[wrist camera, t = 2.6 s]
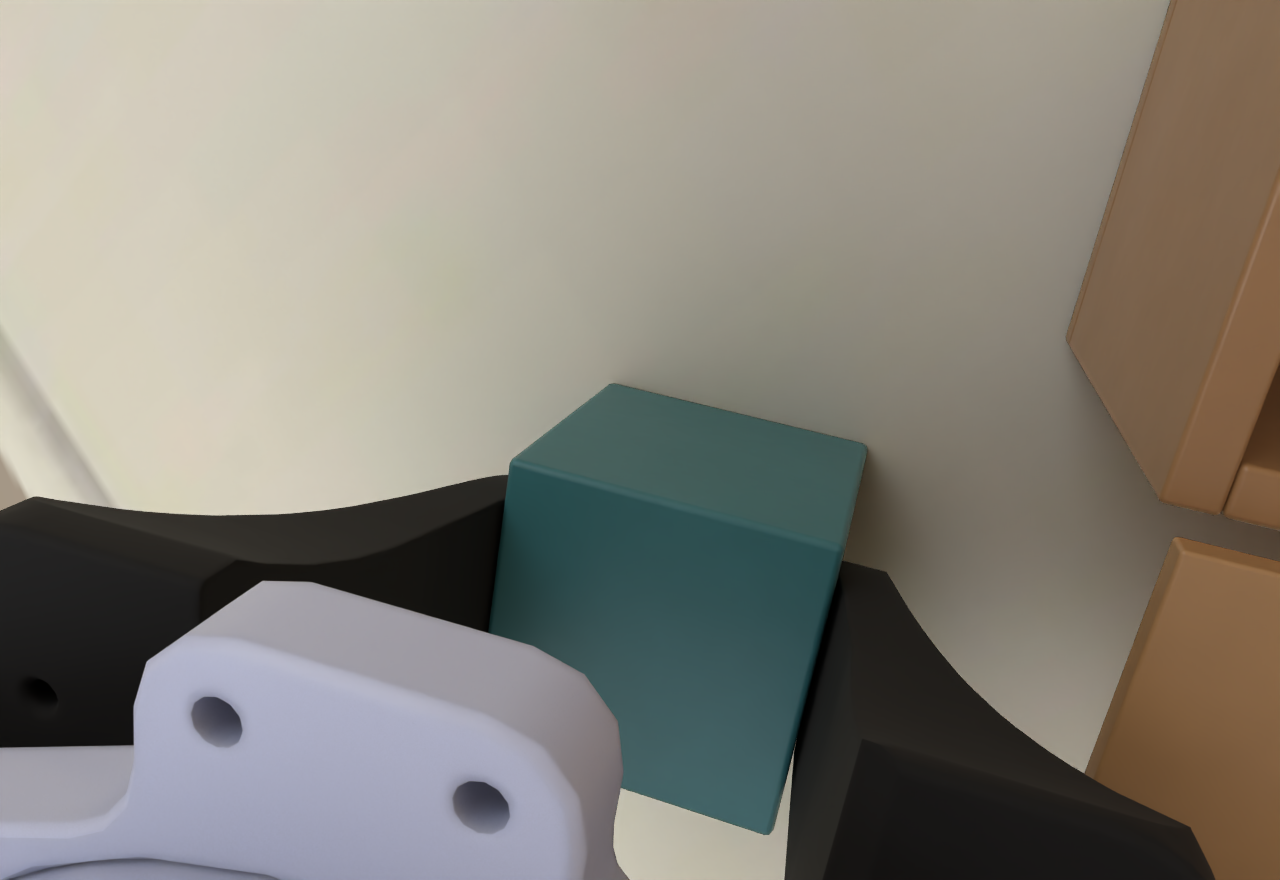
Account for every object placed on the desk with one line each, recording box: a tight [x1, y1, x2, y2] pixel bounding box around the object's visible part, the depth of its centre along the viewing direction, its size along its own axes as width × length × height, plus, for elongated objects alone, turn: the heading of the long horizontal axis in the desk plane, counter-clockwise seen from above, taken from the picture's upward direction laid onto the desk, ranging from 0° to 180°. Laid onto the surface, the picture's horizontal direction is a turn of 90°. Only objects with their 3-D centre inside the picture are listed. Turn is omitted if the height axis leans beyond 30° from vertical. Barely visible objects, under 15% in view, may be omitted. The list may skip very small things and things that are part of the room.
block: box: [488, 384, 867, 835], centre depth 14 cm, size 4×4×4 cm
